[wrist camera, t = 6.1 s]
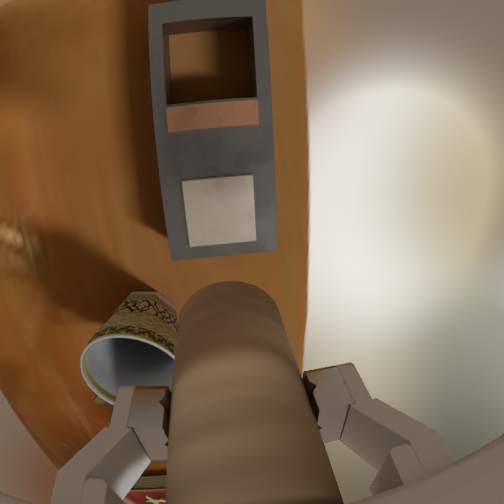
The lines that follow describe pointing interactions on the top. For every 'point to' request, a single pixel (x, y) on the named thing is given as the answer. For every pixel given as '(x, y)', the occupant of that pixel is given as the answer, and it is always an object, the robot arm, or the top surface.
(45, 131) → the top surface
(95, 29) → the top surface
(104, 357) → the ceramic cup
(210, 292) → the peg
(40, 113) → the top surface
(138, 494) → the hardcover book
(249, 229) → the grey slotted box
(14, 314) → the top surface
